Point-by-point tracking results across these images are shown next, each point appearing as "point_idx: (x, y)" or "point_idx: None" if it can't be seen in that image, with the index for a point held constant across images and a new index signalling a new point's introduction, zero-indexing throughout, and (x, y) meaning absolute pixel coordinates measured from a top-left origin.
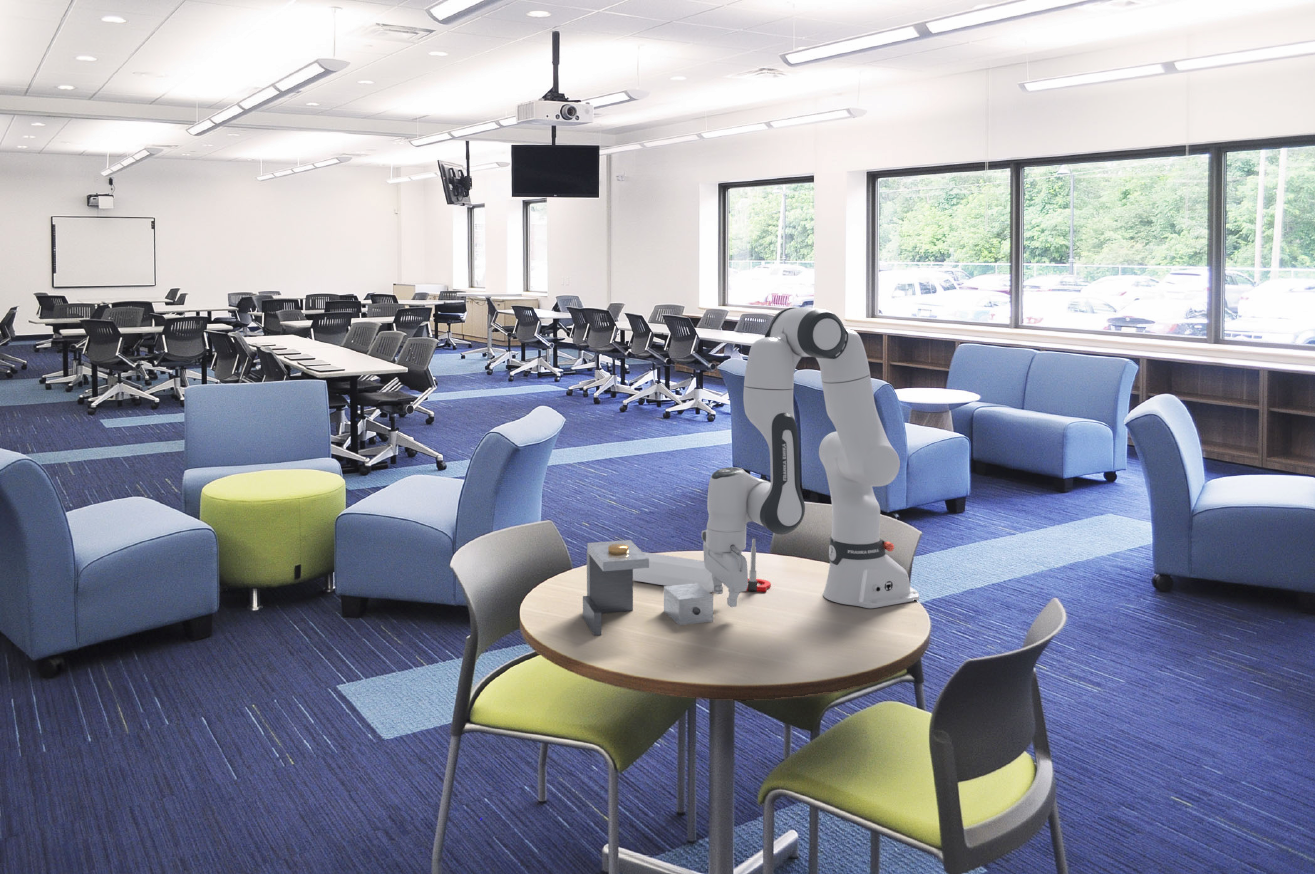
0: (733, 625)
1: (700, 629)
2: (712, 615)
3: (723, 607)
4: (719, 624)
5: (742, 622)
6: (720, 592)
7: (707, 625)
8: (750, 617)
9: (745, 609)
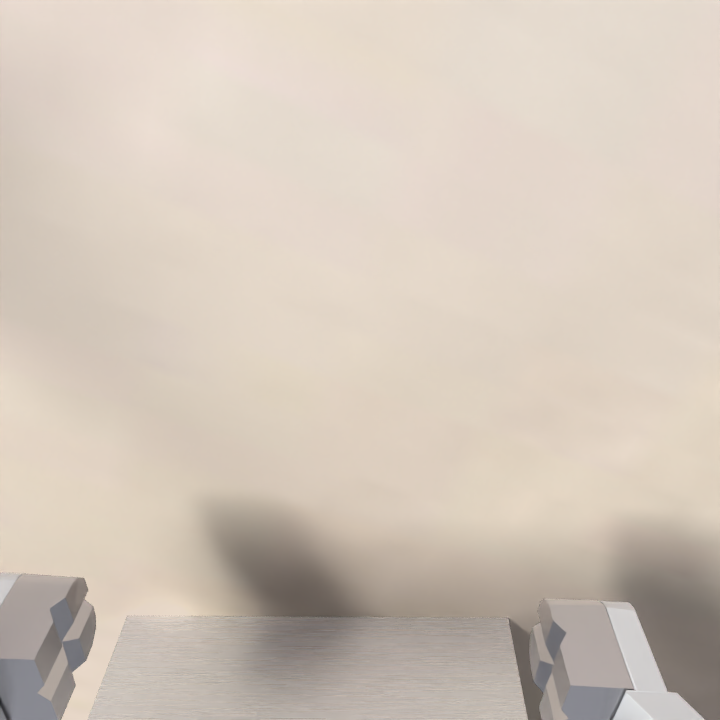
0: (698, 532)
1: None
2: (517, 670)
3: (153, 444)
4: None
5: (674, 443)
6: (77, 606)
7: None
8: (574, 315)
9: (269, 258)
